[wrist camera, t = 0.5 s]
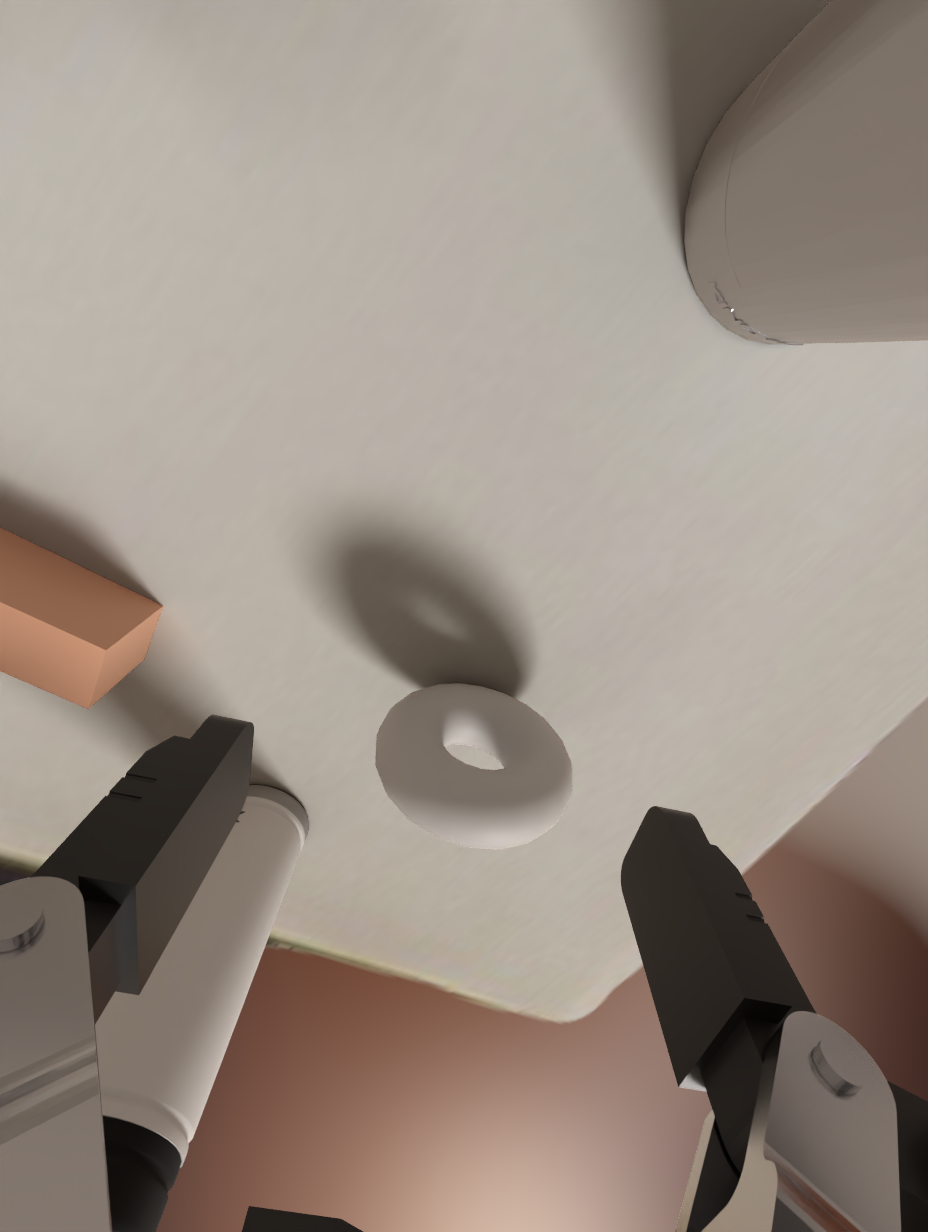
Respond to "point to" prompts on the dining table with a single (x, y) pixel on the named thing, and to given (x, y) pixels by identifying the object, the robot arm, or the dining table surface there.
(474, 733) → the donut
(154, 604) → the clay strip
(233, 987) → the travel mug
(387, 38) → the dining table surface
